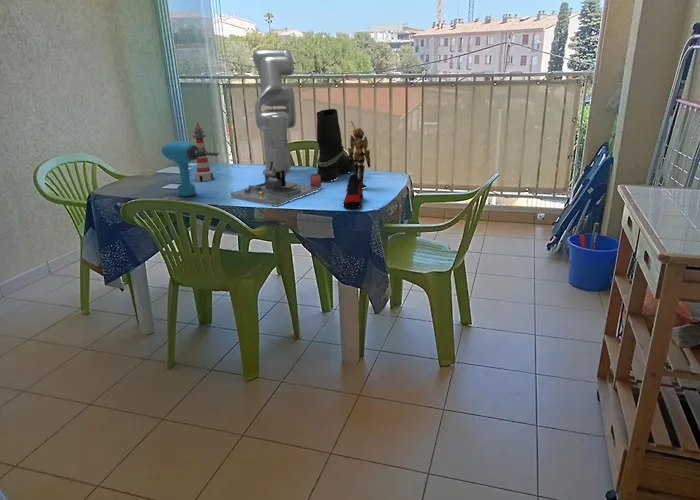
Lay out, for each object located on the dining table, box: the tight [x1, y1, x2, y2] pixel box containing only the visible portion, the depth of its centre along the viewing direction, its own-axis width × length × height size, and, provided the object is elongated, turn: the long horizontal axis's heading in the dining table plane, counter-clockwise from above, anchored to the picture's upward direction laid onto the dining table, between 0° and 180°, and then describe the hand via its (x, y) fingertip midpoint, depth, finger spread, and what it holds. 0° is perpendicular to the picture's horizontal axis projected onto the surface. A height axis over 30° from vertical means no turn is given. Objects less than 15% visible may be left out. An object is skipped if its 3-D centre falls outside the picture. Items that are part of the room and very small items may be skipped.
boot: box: [316, 108, 354, 181], centre depth 249 cm, size 12×35×33 cm, turn 156°
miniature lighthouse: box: [192, 120, 215, 182], centre depth 245 cm, size 9×9×30 cm
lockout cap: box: [309, 173, 322, 188], centre depth 229 cm, size 5×5×7 cm
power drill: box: [161, 140, 219, 198], centre depth 217 cm, size 28×9×23 cm, turn 68°
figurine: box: [347, 120, 371, 188], centre depth 223 cm, size 11×7×30 cm
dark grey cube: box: [264, 172, 277, 182], centre depth 230 cm, size 5×5×5 cm
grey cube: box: [264, 178, 282, 190], centre depth 220 cm, size 5×5×5 cm
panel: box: [230, 180, 320, 207], centre depth 222 cm, size 28×26×4 cm
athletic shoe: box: [342, 173, 364, 208], centre depth 205 cm, size 8×20×12 cm, turn 175°
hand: (281, 185), depth 224 cm, fingers closed
